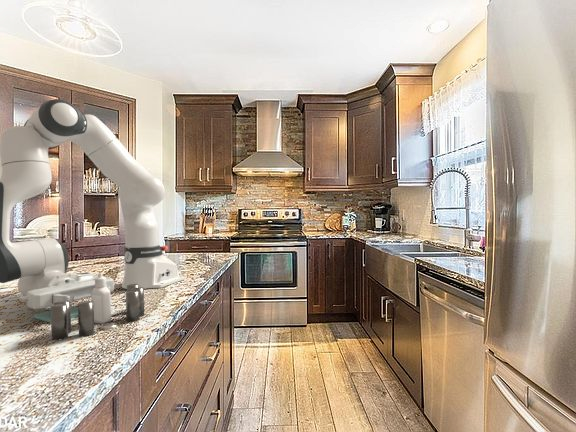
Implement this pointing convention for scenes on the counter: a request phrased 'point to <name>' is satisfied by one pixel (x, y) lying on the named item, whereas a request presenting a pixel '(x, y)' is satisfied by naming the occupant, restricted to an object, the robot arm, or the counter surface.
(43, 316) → the pad
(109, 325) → the grey flat disc
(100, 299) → the eye dropper bottle
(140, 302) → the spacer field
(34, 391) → the counter surface
